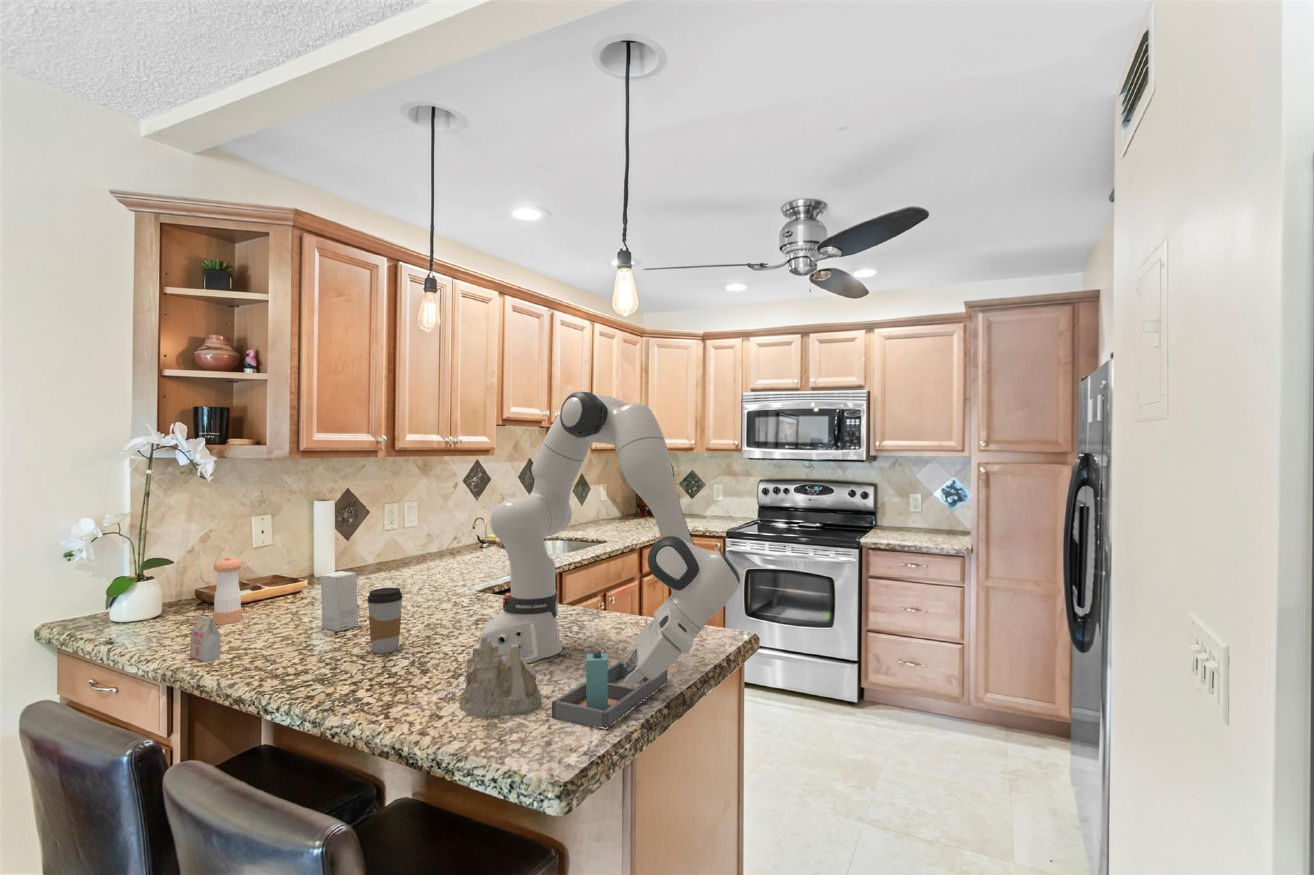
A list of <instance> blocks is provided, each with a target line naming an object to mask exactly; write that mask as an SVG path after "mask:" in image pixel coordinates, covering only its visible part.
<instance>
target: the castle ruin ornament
mask: <svg viewBox="0 0 1314 875" xmlns="http://www.w3.org/2000/svg"><path fill="white" fill-rule="evenodd" d="M480 636H481V635H480ZM472 648H473V647H472ZM502 655H503V654H502V653H500V654H499V649H498V645H495V646H492V644H491V642H490V641H487V638H486V636H484V635H483V636H481V643H480V647H479V648H473V658H470V657H467V658H466V678H465V680H466V681H465V688H464V690H463V691H462V692H461V697H459V705H460V707H461V710H462V711H463V712H464V713H465V714H467V715H469V716H474V717H480V718H489V717H490V718H493V717H500V716H512V715H517V714H518V715H519V714H527V713H532V712H534V711H536V710H538V709H540V708H541V706H542V705H543V704H542V697H541V691H539V690H538V684H537V682H536V680H537V679H538V676H537V674H536V671H535V669H534V668H533V667H532V666H531V665H530V664H529V663H526V662H525V661H524V660H523V659H522V658H521V657H520V649H519V645H518V644H512V645H511V652H510V654H509V655H508V657H507V659H506V660H505V662H503V659H502Z"/></svg>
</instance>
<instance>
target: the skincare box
mask: <svg viewBox="0 0 1314 875" xmlns="http://www.w3.org/2000/svg"><path fill="white" fill-rule="evenodd" d="M357 585H358V584H357V572H352V571H344V570H343V571H342V570H339V571H334V572H330V573H324V574H320V593H321V595H320V598H321V599H320V600H321V602H320V603H321V626H322V627H321V628H322V629H324V630H329V631H334V632H342V631H346V630H350V629H354V628H357V627H358V626H359V616H358V615H359V613H358V612H359V611H358V586H357Z"/></svg>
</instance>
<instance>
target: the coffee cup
mask: <svg viewBox="0 0 1314 875" xmlns="http://www.w3.org/2000/svg"><path fill="white" fill-rule="evenodd" d="M366 601H367V602H366V603H367V606H368V622H369V637H370V645H371V646H370V647H371V651H372V653H373V654H379V655H380V654H383V655H384V654H389V653H394V652H395V651H397V650H398V648H399V647H400V646H399V645H400V636H401V622H402V605H403V604H402V601H403V593H402V591H401V589H400V588H399V587H382V588H381V587H380V588H376V589H373V590H370V591H369V594H368V596H367V600H366Z"/></svg>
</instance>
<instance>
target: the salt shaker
mask: <svg viewBox="0 0 1314 875" xmlns="http://www.w3.org/2000/svg"><path fill="white" fill-rule="evenodd" d="M242 566H243V564H242V562H241V561H240V560H238V559H235V558H231V557H230V556H226V557H225V558H224V559H221V560H219V561H217V562H215V564H214V565H213V571H215V572H216V589H215V592H214V593H215V594H214V599H213V600H214V601H213V602H214V605H213V607H214V608H213V609H214V610H213V611H212V619H213V622H214V624H215V625H229V624H234V623H237V622H240V621H242V620H243V608H242V606H241V605H242V594H241V590H240V585H239V584H240V583H239V581H240V579H239V578H240V577H239V576H240V574H239V570H241V568H242Z"/></svg>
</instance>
